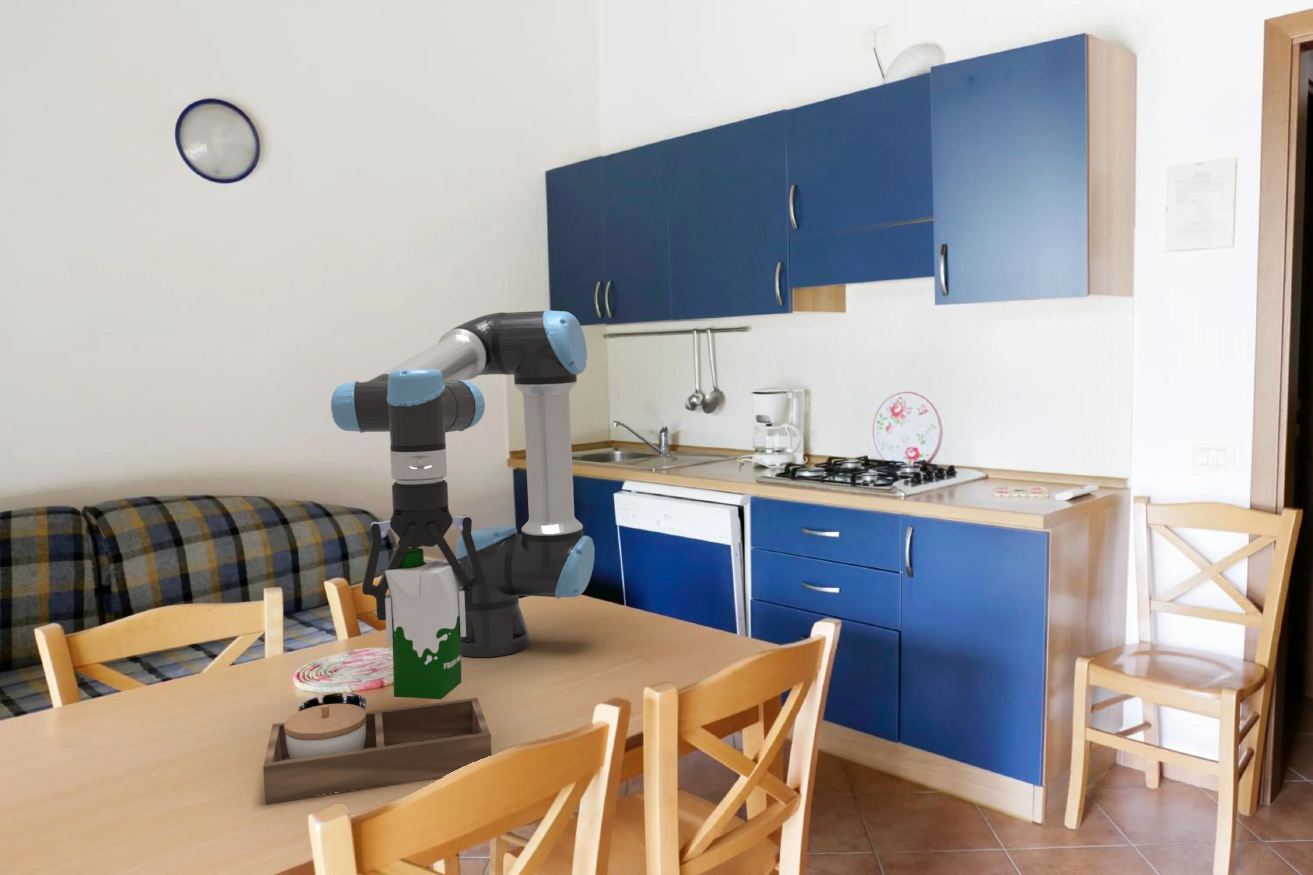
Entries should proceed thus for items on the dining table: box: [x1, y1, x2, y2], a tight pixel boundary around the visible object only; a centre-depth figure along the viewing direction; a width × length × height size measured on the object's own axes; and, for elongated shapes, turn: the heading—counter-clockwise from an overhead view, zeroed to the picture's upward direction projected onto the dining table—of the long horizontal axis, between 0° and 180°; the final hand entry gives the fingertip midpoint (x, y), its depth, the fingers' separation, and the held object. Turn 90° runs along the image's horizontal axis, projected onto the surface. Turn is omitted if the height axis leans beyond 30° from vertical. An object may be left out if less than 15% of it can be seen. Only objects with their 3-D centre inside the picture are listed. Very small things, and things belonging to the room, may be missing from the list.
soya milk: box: [384, 547, 462, 700], centre depth 134 cm, size 9×9×20 cm
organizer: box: [262, 697, 492, 805], centre depth 134 cm, size 15×29×5 cm, turn 108°
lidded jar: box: [283, 703, 367, 760], centre depth 132 cm, size 11×11×9 cm
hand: (426, 637), depth 135 cm, fingers closed on soya milk, 9 cm apart
